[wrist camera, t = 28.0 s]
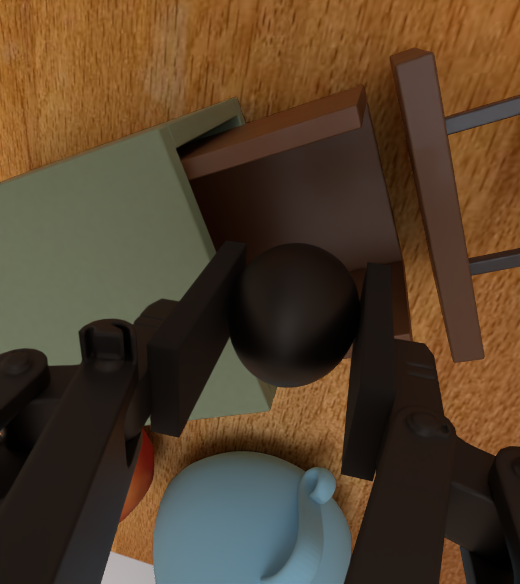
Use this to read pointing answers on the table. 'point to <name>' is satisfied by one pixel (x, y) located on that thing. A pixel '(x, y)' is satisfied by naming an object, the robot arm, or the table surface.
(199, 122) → the cabinet
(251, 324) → the egg
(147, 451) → the tomato
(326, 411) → the table surface
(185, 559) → the teapot
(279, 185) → the drawer
